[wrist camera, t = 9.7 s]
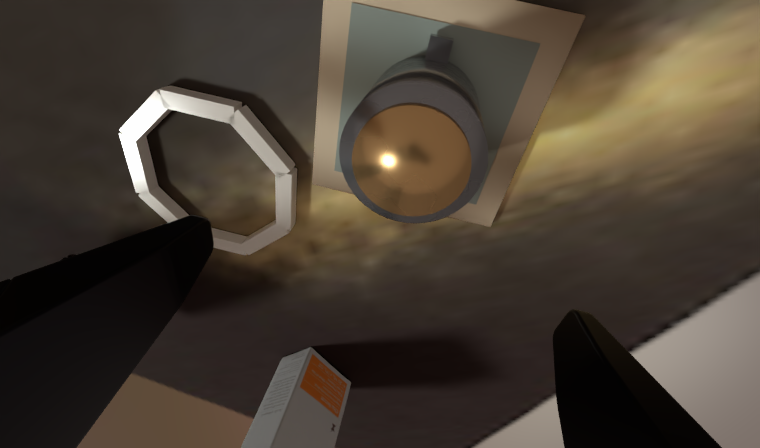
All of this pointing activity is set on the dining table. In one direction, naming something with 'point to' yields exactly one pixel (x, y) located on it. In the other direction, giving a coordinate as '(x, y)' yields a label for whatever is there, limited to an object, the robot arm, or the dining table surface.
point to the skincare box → (300, 405)
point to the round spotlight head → (416, 139)
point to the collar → (251, 133)
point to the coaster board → (469, 52)
